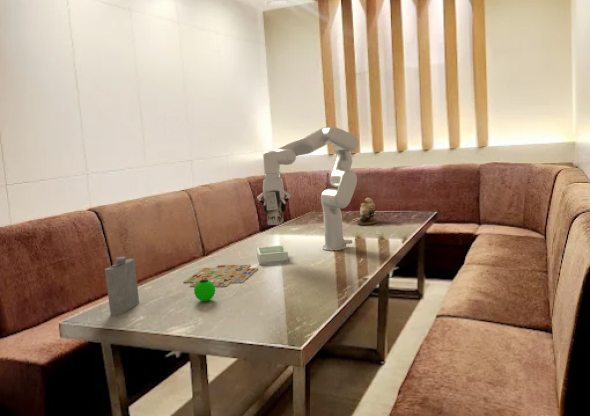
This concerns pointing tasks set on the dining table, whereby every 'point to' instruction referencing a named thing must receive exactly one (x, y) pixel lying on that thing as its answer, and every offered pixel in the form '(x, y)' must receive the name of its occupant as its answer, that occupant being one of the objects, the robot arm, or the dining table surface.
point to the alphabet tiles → (222, 275)
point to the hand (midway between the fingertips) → (275, 212)
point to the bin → (272, 254)
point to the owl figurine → (367, 213)
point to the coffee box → (274, 208)
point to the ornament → (204, 289)
